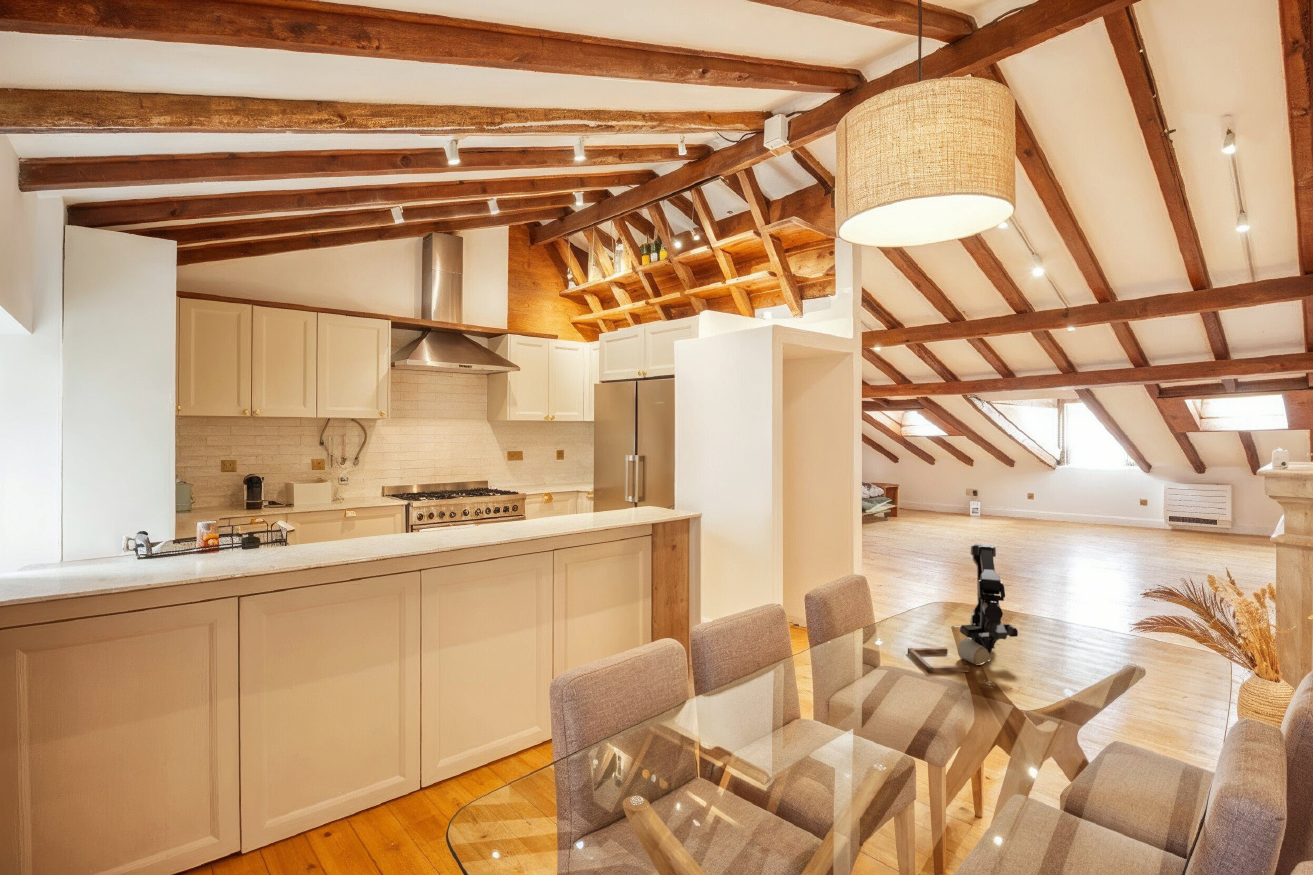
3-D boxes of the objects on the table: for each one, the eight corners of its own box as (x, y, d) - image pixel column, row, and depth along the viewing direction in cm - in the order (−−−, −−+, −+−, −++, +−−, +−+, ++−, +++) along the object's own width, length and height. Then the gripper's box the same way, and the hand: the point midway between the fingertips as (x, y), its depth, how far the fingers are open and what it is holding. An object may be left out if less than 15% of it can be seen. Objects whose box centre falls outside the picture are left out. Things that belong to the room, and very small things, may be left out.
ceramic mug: (974, 668, 226) (975, 647, 226) (956, 659, 234) (957, 639, 233) (997, 664, 230) (998, 643, 229) (978, 655, 237) (979, 635, 237)
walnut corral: (945, 652, 240) (945, 647, 240) (969, 672, 223) (969, 666, 223) (907, 653, 239) (907, 648, 239) (928, 673, 222) (928, 667, 222)
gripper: (976, 620, 222) (975, 663, 223) (1028, 619, 223) (1026, 662, 224) (960, 609, 233) (958, 650, 234) (1009, 608, 234) (1007, 649, 235)
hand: (988, 653), depth 231 cm, fingers closed
